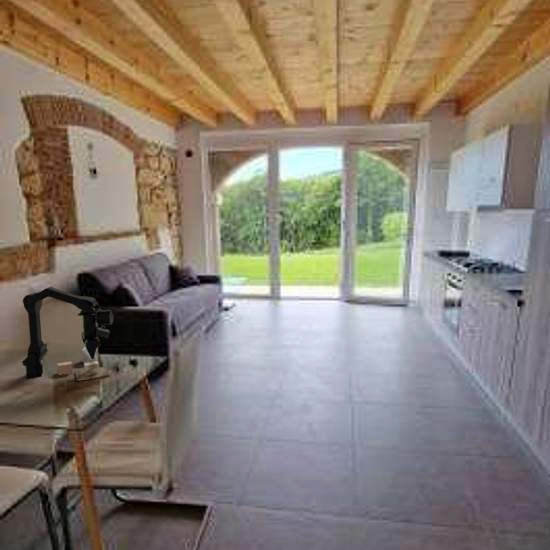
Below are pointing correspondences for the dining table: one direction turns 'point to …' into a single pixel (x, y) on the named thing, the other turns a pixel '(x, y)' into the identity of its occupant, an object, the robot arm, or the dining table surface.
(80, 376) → the walnut board
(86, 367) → the birch brick
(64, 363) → the terracotta brick
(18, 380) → the dining table surface
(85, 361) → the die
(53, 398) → the dining table surface
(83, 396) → the dining table surface
